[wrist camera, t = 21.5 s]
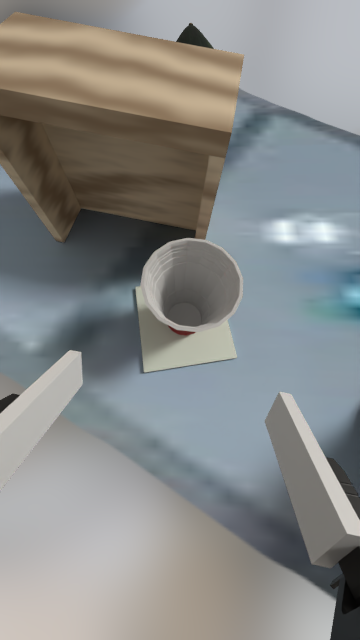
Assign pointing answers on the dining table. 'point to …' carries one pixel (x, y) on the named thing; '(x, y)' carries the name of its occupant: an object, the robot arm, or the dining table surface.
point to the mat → (179, 342)
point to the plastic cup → (191, 285)
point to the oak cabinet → (113, 122)
